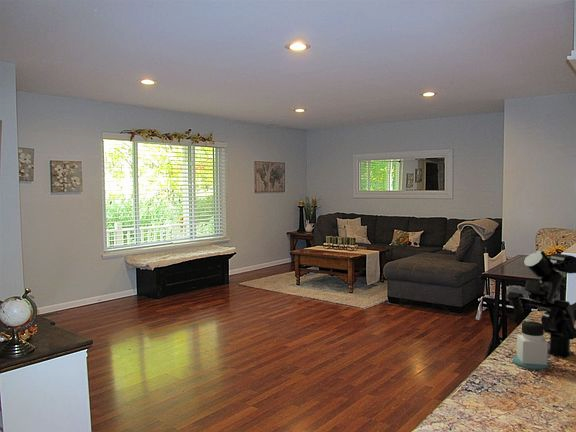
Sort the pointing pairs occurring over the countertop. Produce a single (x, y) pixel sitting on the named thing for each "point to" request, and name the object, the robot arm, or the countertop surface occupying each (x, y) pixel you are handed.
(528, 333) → the medicine bottle
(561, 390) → the countertop surface
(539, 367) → the coaster
